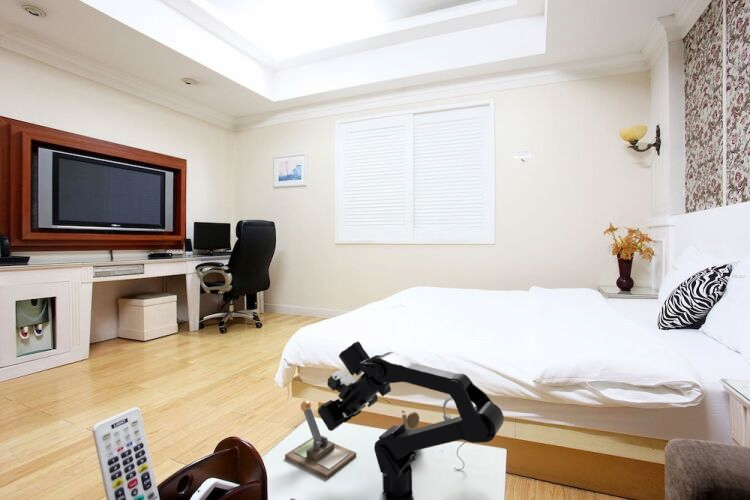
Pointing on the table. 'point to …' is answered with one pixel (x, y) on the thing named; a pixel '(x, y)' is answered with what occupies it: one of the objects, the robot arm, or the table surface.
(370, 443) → the table surface
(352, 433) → the table surface
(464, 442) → the headphones
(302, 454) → the switch base
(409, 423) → the snail figurine
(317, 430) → the toggle lever
